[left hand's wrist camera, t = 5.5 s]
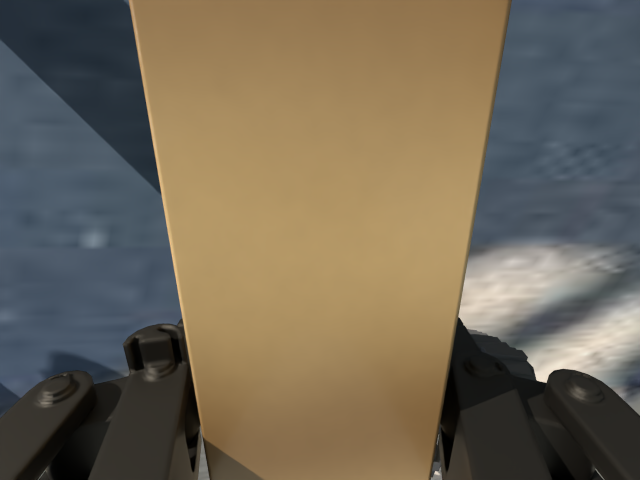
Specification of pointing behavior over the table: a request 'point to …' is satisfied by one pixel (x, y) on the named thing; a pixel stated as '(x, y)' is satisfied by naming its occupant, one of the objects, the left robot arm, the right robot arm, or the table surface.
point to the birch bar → (320, 218)
